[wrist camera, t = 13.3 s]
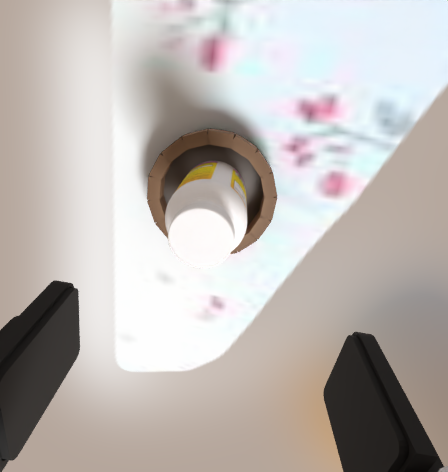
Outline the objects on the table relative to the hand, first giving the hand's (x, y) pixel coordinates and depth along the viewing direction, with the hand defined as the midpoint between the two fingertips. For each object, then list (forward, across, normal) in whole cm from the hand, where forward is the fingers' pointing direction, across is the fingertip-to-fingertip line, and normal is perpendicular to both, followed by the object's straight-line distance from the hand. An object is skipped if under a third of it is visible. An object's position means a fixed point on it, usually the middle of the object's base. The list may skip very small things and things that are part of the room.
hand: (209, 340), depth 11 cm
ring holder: (+25, +1, +3) cm, 25 cm away
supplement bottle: (+24, +1, +2) cm, 25 cm away
